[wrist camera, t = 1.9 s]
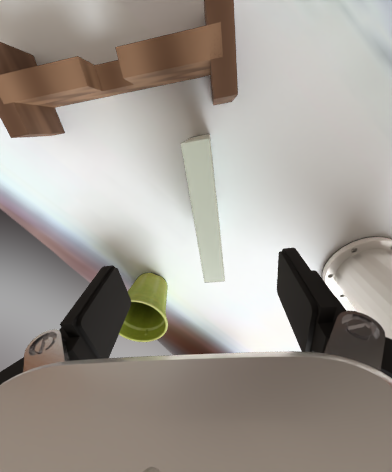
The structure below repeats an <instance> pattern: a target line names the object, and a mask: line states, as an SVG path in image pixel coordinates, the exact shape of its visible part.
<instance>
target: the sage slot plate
mask: <svg viewBox="0 0 392 472" xmlns="http://www.w3.org/2000/svg"><path fill="white" fill-rule="evenodd" d="M181 149H182V154H183V160H184V166H185V172H186V178H187V183H188V189H189V195H190V201H191V207H192V213H193V218H194V224H195V230H196V236H197V242H198V247H199V253H200V259H201V265H202V271H203V277H204V282H205V283H209V282H222V281H225V278H224V267H223V257H222V246H221V235H220V225H219V216H218V207H217V199H216V190H215V180H214V170H213V160H212V151H211V142H210V134H207V135H201V136H195V137H192V138H190V139H188V140H186V141H184V142H182V143H181Z"/></svg>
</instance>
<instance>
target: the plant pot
mask: <svg viewBox="0 0 392 472" xmlns="http://www.w3.org/2000/svg"><path fill="white" fill-rule="evenodd" d="M128 294H129V296H130V299H131V306H130V309H129V311H128V313H127V316H126V318H125V321H124V323H123V325H122V328H121V330H120V332H119V335H121V336H122V337H124V338H127V339H129V340H133V341H138V342H150V341H154V340H157V339H159V338H160V337H162V336H163V335H164V334H165V332H166V331H167V327H168V322H167V318H166V313H165V309H166V298H167V283H166V281H165V280H164V279H163V278H162V277H161V276H157V275H155V274H153V273H145V274H142V275H140V276H139V277H138V278H137V279H136V281H135V282H134V284H133V285H132V286H131V288H130V289H129V290H128Z"/></svg>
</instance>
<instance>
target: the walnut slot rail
mask: <svg viewBox="0 0 392 472" xmlns="http://www.w3.org/2000/svg"><path fill="white" fill-rule="evenodd" d="M204 11H205V23H206V26H202V27H198V28H194V29H189V30H185V31H181V32H177V33H173V34H169V35H164V36H160V37H156V38H152V39H148V40H144V41H139V42H135V43H131V44H127V45H123V46H118V47H115V48H116V52H117V56H118V60H116V61H111V62H107V63H103V64H98V65H93V64H91V63H89V62H88V61H86V60H84V59H82V58H80V57H78V56H77V57H72V58H68V59H64V60H60V61H56V62H52V63H47V64H43V65H39V66H37V64H36V61H35V59H34V56H33V55H31V54H29V53H26V52H24V51H21V50H19V49H16V48H14V47H11V46H9V45H6V44H4V43H2V42H0V118H1V120H2V121H3V123H4V125H5V127H6V129H7V131H8V133H9V135H10V137H11V138H17V137H37V136H52V135H57V134H62V133H65V132H64V130H63V127H62V125H61V122H60V120H59V117H58V115H57V112H56V110H55V107H59V106H64V105H69V104H74V103H79V102H84V101H88V100H93V99H98V98H103V97H108V96H113V95H117V94H122V93H127V92H132V91H137V90H142V89H146V88H151V87H156V86H161V85H166V84H171V83H176V82H180V81H185V80H190V79H195V78H200V77H205V76H209V75H210V76H211V86H212V97H213V105H217V104H223V103H228V102H232V101H233V100H234V98H235V97H236V96H237V95H238V88H237V66H236V44H235V22H234V0H204Z"/></svg>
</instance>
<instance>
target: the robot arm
mask: <svg viewBox="0 0 392 472" xmlns="http://www.w3.org/2000/svg"><path fill="white" fill-rule="evenodd" d="M277 293H278V296H279V298H280V301H281V303H282V305H283V308H284V310H285V312H286V315H287V317H288V320H289V322H290V324H291V327H292V329H293V331H294V334H295V336H296V339H297V341H298V343H299V346H300V348H301V350H302V352H294V351H289V352H246V353H219V354H193V355H170V356H147V357H125V358H109V356H110V354H111V351H112V349H113V347H114V344H115V342H116V339H117V337H118V335H119V332H120V330H121V328H122V325H123V323H124V321H125V318H126V316H127V313H128V311H129V309H130V306H131V299H130V296H129V294H128V292H127V289H126V287H125V285H124V282H123V280H122V278H121V275H120V273H119V271H118V269H117V268H115V267H114V266H104V267H102V268H101V270H100V271H99V272H98V274H97V275H96V276H95V278H94V279H93V280H92V282H91V283H90V284H89V286H88V287H87V288H86V290H85V291H84V293H83V294H82V295H81V297H80V298H79V299H78V301H77V302H76V303H75V305H74V306H73V308H72V309H71V310H70V312H69V313H68V314H67V316H66V317H65V318H64V320H63V321H62V322H61V324H60V325H61V329H60V330H57V329H52V330H48V331H46V332H43V333H42V334H40V335H39V336H37V337H36V338H35V339H33V340H32V341H31V343H30V344H29V345H28V347H27V348H26V350H25V353H24V358H22V359H20V360H19V361H17V362H16V363H14V364H12V365H11V366H9V367H7V368H6V369H4V370H3V371H1V372H0V472H392V239H389V238H385V237H370V238H365V239H360V240H357V241H355V242H352V243H350V244H348V245H346V246H344V247H342V248H341V249H340V250H338V251H337V252H336V253H335V254H334V255H333V256H332V257H331V258H330V259H329V260H328V262H327V263H326V265H325V267H324V269H323V273H322V278H321V277H320V275H319V274H318V273H317V272H316V271H311V270H310V268H309V267H308V266H307V264H306V263H305V261H304V260H303V259H302V257H301V256H300V254H299V253H298V252H297V250H296V249H295V248H285V249H283V250H282V252H279V260H278V279H277ZM336 297H337V298H340V299H344V300H348V301H349V302H350V303H351V305H352V306H353V307H354V308H355V310H356V311H357V312H356V311H346V310H345V308H344V307H343V306H342V304H341V303H340V302H339V300H338V299H337V298H336Z"/></svg>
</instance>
